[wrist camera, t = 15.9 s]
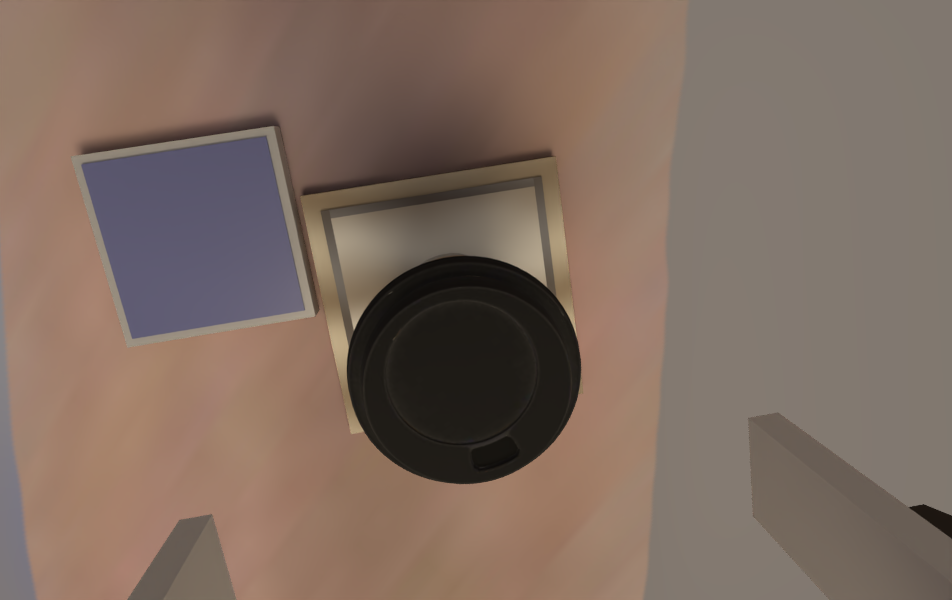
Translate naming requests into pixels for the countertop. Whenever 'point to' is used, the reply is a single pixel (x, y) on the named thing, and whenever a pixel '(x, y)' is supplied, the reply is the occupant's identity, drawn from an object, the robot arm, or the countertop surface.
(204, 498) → the countertop surface
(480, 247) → the board
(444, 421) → the coffee cup
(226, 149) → the ink pad
